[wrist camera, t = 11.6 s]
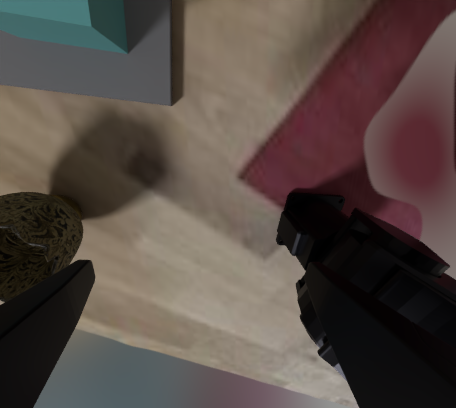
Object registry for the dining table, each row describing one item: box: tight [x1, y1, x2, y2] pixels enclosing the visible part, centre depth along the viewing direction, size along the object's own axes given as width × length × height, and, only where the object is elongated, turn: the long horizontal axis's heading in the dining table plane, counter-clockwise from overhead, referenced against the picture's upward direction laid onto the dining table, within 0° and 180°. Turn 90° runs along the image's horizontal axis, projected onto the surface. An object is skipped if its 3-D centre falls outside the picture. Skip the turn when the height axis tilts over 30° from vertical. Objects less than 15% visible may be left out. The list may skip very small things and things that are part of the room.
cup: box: [0, 192, 83, 302], centre depth 15 cm, size 8×7×8 cm
